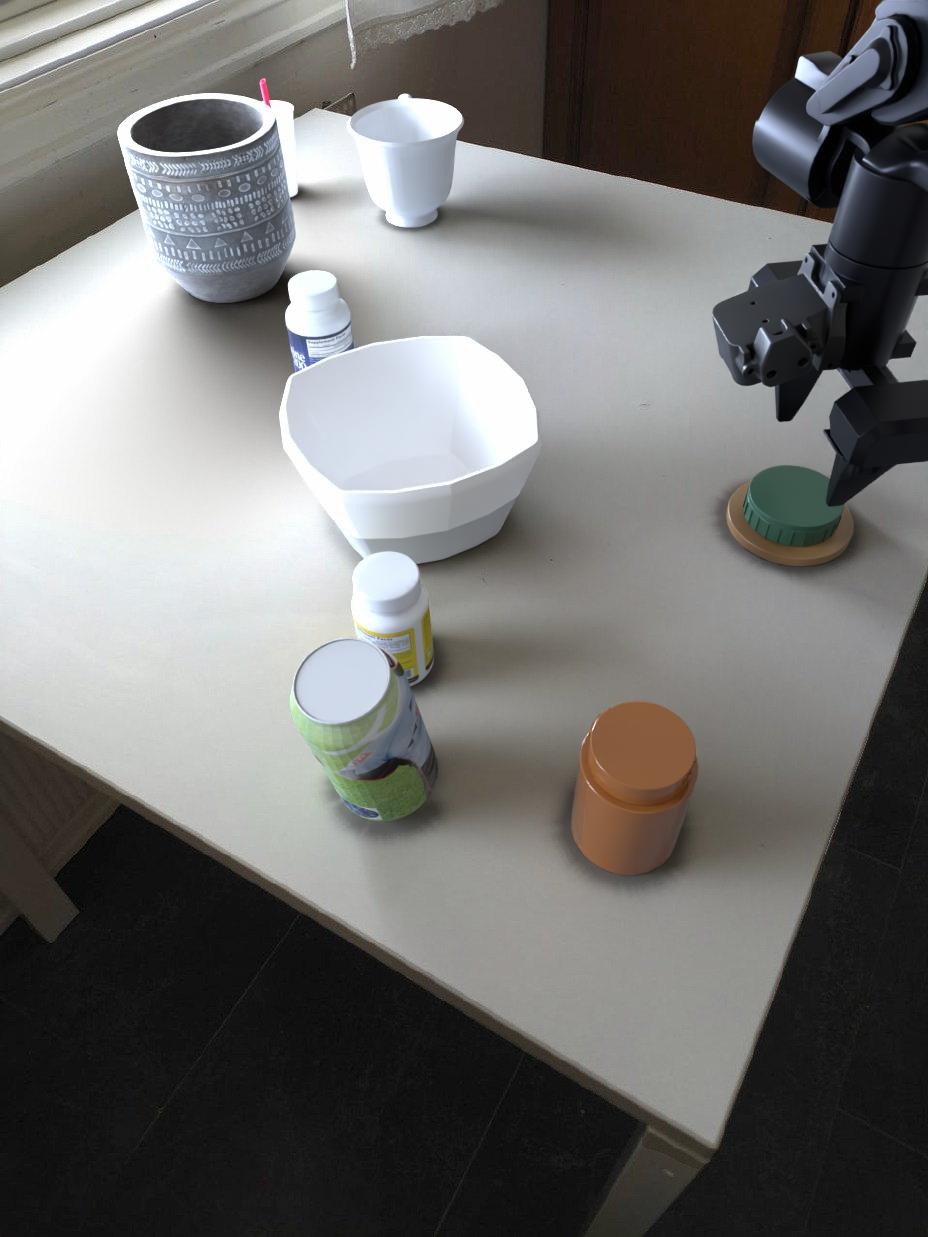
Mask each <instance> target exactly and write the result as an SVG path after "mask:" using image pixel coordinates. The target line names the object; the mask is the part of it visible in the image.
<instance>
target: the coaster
mask: <svg viewBox="0 0 928 1237" xmlns="http://www.w3.org/2000/svg"><path fill="white" fill-rule="evenodd" d="M751 481H752V480H750V481H748V482H746V483H743V484H742V485H741V486H739V487H738V488H737V489H736V490H735V491H734V492H733V494H732V495H731V496H730V499H729V500H728V503H727V504H728V505H727V508H726V512H725V513H726V514H725V519H726V524H727V528H728V530H729V531H730V533H731V535H732V537H733V538H734V539H735V540H736V541H737V542H738V543H739V545H741V546H742V547H743V548H744V549H746V550H747V551H748V552H750V553H751V554H753V555H755V556H757V557H758V558H760V559H763V560H765V561H769V562H771V563H774V564H778V565H784V566H789V567H813V566H818V565H822V564H826V563H828V562H830V561H833V560H834V559H836V558H837V557H839V556H840V555H841V554H843V553H844V552H845V550H846V549H847V548H848V546H849V544H850V542H851V539H852V537H853V535H854V528H855V526H854V525H855V523H854V519H853V515H852V513H851V511H850V509H849V508H848V506H847V505H846V503H845V504H844V509H843V512H842V514H841V516H842V518H841V520H840V523H839V525H838V528H837V530H835V531H834V533H833V535H832V537H831V536H830V537H829V538H828V539H827V540H825V541H824V542H821V543H819V544H816V545H814V546H813V545H812V546H805V547H794V546H786V545H782V544H778V543H775V542H773V541H770V540H768V539H766V538H764V537H763V536H761V535H760V534H758V533H757V532H756V531H754V529H752V528H751V526H750V525H749V524H748V523H747V520H746V518H745V515H743V514H744V507H743V503H744V500H745V496H746V493H747V490H748V487H749V485H750V483H751Z"/></svg>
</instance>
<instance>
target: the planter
mask: <svg viewBox="0 0 928 1237" xmlns="http://www.w3.org/2000/svg"><path fill="white" fill-rule="evenodd" d="M262 102H263V101H260V100H257V99H255V98H250V97H246V96H242V95H235V94H229V93H195V94H190V95H183V96H182V95H181V96H177V97H173V98H170V99H166V100H163V101H160V102H157V103H154V104H151V105H149V106H146V107H145V108H142V109H140V110H138V111H136V112H134V113H133V114H131V115H130V116H128V117H127V118H126V119H125V120H124V121H122V123H121V124H120V125H119V127H118V129H117V138H118V142H119V145H120V149H121V152H122V156H123V158H124V159H123V160H124V164H125V167H126V170H127V174H128V176H129V177H128V178H129V180H130V181H129V182H130V184H131V188H132V191H133V194H134V197H135V200H136V203H137V206H138V209H139V213H140V216H141V220H142V224H143V228H144V232H145V235H146V239H147V241H148V245H149V247H150V251H151V253H152V256H153V258H154V259H155V260H156V263H158V265H160V267H161V268H162V269H163V270H164V271H165V272H166V273H167V274H168V275H169V276H170V277H171V278H172V280H174V281H175V282H176V283H177V284H178V285H180V287H182V288H183V289H184V290H185V291H187V292H188V293H189V294H190V295H191V296H192V297H194V298H195V299H198V300H201V301H205V302H208V303H217V304H230V303H238V302H244V301H247V300H252V299H255V298H257V297H259V296H262V295H264V294H265V293H267V292H269V291H270V290H272V289H273V288H274V287H275V286H276V285H277V283H278V282H279V280H280V279H281V277H282V274H283V272H284V270H285V268H286V265H287V264H288V261H289V258H290V256H291V254H292V250H293V248H294V244H295V241H296V237H297V232H296V222H295V217H294V210H293V205H292V201H291V197H290V196H289V191H288V183H287V176H286V170H285V164H284V158H283V153H282V148H281V143H280V139H279V132H278V126H277V120H276V115H275V113H274V111H273V110H272V109H271V108H270V107H269V106H267V105H266V104H264V103H262Z"/></svg>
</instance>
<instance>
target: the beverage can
mask: <svg viewBox="0 0 928 1237" xmlns="http://www.w3.org/2000/svg"><path fill="white" fill-rule="evenodd" d="M290 690H291V691H290V694H289V695H290V696H289V709H290V710H289V711H290V715H291V719H292V720H293V723H294V725H295V727H296V728H297V730H298V732H299V733H300V735H301V737H302V738H303V740H304V741H305V743H306V745H307V746H308V748H309V749H310V751H311V753H312V754H313V756H314V757H315V759H316V760H317V762H318V763H319V765H320V767H321V768H322V770H323V772H324V773H325V775H326V776H327V778H328V780H329V781H330V782H331V784H332V786H333V788H334V789H335V790H336V792H337V794H338V795H339V797H340V798H341V800H342V802H343V803H344V805H345V806H346V807H347V808H348V809H349V810H350V811H351V812H352V813H354V814H355V815H357V816H359V818H360V817H361V818H363V819H365V820H368V821H373V822H391V821H396V820H399V819H402V818H405V817H407V816H409V815H411V814H413V813H414V812H415V811H418V809H419V808H420V807H422V806H423V805H424V804H425V802H426V801H427V800H428V799H429V797H430V796H431V794H432V793H433V791H434V789H435V786H436V784H437V781H438V777H439V776H438V775H439V761H438V757H437V753H436V750H435V748H434V745H433V743H432V739H431V738H430V735H429V732H428V730H427V726H426V724H425V722H424V719H423V716H422V714H421V711H420V709H419V706H418V703H417V700H416V698H415V695H414V693H413V690H412V686H410V685H409V682H408V679H407V677H406V674H405V672H404V670H403V668H402V666H401V664H400V663H399V662H398V661H397V659H396V658H395V657H394V656H393V655H391V654H390V653H389V652H388V651H386V650H384V649H383V648H381V647H379V646H376V645H374V644H372V643H370V642H369V641H366V640H363V639H358V638H357V637H341V638H336V639H332V640H330V641H327V642H325V643H323V644H320V645H319V646H317V647H316V648H314V649H313V650H312V651H310V652H309V653H308V654H307V655H306V656H305V657H304V658H303V660H302V661H301V662H300V664H299V665H298V667H297V669H296V671H295V674H294V676H293V681H292V687H291V689H290Z"/></svg>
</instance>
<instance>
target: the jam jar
mask: <svg viewBox="0 0 928 1237" xmlns="http://www.w3.org/2000/svg"><path fill="white" fill-rule="evenodd" d="M696 746H697V745H696V741H695V737H694V735H693V733H692V731H691V729H690V727H689V726H688V725H687V723H686V722H685V721H684V720H683V719H682V718H681V717H680V716H679V715H678V714H677V713H675V712H674V711H672V710H671V709H669V708H667V707H665V706H663V705H660V704H657V703H655V702H654V703H653V702H649V701H643V700H641V701H640V700H634V701H633V700H632V701H626V702H621V703H618V704H616V705H613V706H610V707H608V708H607V709H606V710H603V712H601V713H599V715H598V716H596V718H595V720H594V721H593V722H592V723H591V726H590V729H589V731H588V733H586V736H585V737H584V739H583V741H582V743H581V747H580V751H579V757H578V766H577V772H576V773H577V774H576V778H575V779H576V780H575V787H574V788H575V789H574V795H573V802H572V807H571V808H572V809H571V816H570V830H571V834H572V836H573V841H574V842H575V843H576V846H577V848H578V849H579V851H580V852H581V853H582V854H583V856H585V858H587V860H588V861H589V862H591V864H594V865H595V866H597V868H600V869H602V870H604V871H606V872H609V873H612V874H617V875H621V876H637V875H642V874H647V873H649V872H652V871H654V870H656V869H657V868H659V867H661V866H662V865H663V864H664V863H665V862H666V861H667V860H668V859H669V857H670V856H671V855H672V854H673V851H674V850H675V846H676V844H677V841H678V838H679V836H680V833H681V829H682V826H683V825H684V824H683V823H684V821H685V817H686V815H687V813H688V812H687V811H688V808H689V806H690V802H691V800H692V796H693V794H694V792H695V788H696V785H697V782H698V777H699V768H700V767H699V761H698V756H697V747H696Z"/></svg>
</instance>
